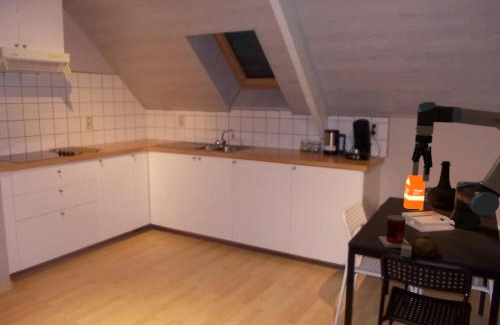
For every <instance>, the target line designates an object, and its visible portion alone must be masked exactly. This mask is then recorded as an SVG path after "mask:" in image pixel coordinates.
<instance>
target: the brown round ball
mask: <svg viewBox="0 0 500 325" xmlns="http://www.w3.org/2000/svg"><path fill="white" fill-rule="evenodd" d="M420 238H425V239H429V240H431V241H432V236H431V235H430V234H428V233H426V232H424V231H423V232H414V235H413V243H414V242H415V241H416V240H417V239H420Z"/></svg>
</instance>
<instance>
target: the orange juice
mask: <svg viewBox="0 0 500 325" xmlns="http://www.w3.org/2000/svg"><path fill="white" fill-rule="evenodd" d="M422 180H423V174H422V175H421V174H418V176H413V175H412V174H408V175H407V179H406V181H405V188H404V197H403V198H404V199H403V208H405V209H406V208H407V209H419V210H418V211H423V210H424V202H425V193H426V192H425V189H426V182H425V181H422ZM407 209H406V210H407Z"/></svg>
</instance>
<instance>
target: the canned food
mask: <svg viewBox="0 0 500 325" xmlns="http://www.w3.org/2000/svg"><path fill="white" fill-rule="evenodd" d="M405 228H406V217H405V216H403V215H398V214H389V215H388V216H387V220H386V232H385V236H386V240H387V241H388V242H391V243H402V242H403V240H404V239H405Z"/></svg>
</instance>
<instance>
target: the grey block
mask: <svg viewBox="0 0 500 325" xmlns="http://www.w3.org/2000/svg"><path fill="white" fill-rule="evenodd" d="M412 247H413V245H411V246H406V245H402V247H401V248H400V257H401V256H405V257H410V258H411V259H412ZM410 258H409V259H410Z"/></svg>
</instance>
